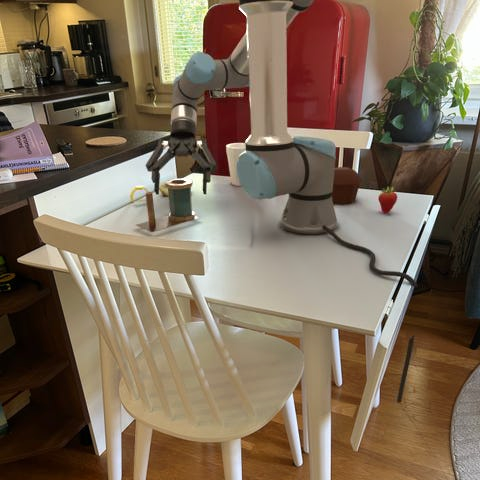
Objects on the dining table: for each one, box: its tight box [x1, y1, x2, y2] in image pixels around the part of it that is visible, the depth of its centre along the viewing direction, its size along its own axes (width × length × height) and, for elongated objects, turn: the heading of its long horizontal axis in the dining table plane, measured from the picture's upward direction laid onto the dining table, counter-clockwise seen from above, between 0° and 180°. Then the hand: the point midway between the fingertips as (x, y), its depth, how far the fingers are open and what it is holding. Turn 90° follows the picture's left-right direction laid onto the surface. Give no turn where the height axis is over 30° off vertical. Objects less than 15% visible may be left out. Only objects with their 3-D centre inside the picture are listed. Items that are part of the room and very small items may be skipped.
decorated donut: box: [159, 181, 169, 198], centre depth 161 cm, size 10×11×4 cm
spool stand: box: [135, 191, 199, 233], centre depth 132 cm, size 16×8×10 cm, turn 133°
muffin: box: [332, 166, 363, 206], centre depth 150 cm, size 12×11×10 cm
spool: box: [164, 178, 196, 222], centre depth 134 cm, size 7×7×10 cm
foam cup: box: [225, 142, 246, 187], centre depth 169 cm, size 10×9×13 cm
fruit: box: [377, 186, 398, 214], centre depth 139 cm, size 5×5×8 cm
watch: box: [130, 184, 149, 203], centre depth 150 cm, size 6×3×6 cm, turn 119°
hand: (180, 192), depth 135 cm, fingers open, 13 cm apart
